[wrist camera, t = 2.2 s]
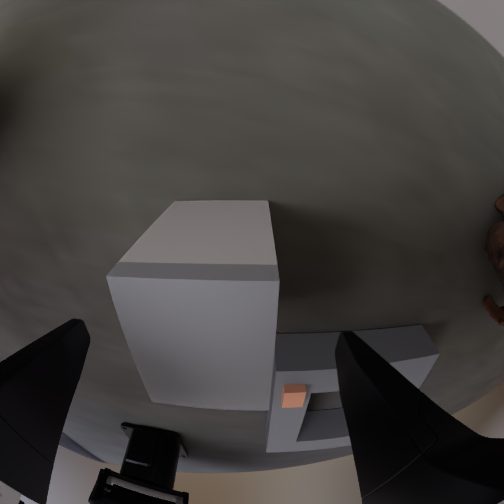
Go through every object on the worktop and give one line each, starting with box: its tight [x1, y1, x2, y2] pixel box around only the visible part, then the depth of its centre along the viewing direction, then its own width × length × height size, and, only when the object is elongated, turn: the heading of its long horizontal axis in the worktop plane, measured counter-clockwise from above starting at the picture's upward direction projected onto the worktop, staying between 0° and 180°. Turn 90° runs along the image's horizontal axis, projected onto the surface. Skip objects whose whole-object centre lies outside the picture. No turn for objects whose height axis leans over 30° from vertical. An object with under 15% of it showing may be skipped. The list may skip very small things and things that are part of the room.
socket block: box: [266, 324, 440, 452], centre depth 17 cm, size 12×10×4 cm
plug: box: [106, 200, 280, 410], centre depth 11 cm, size 6×4×7 cm
